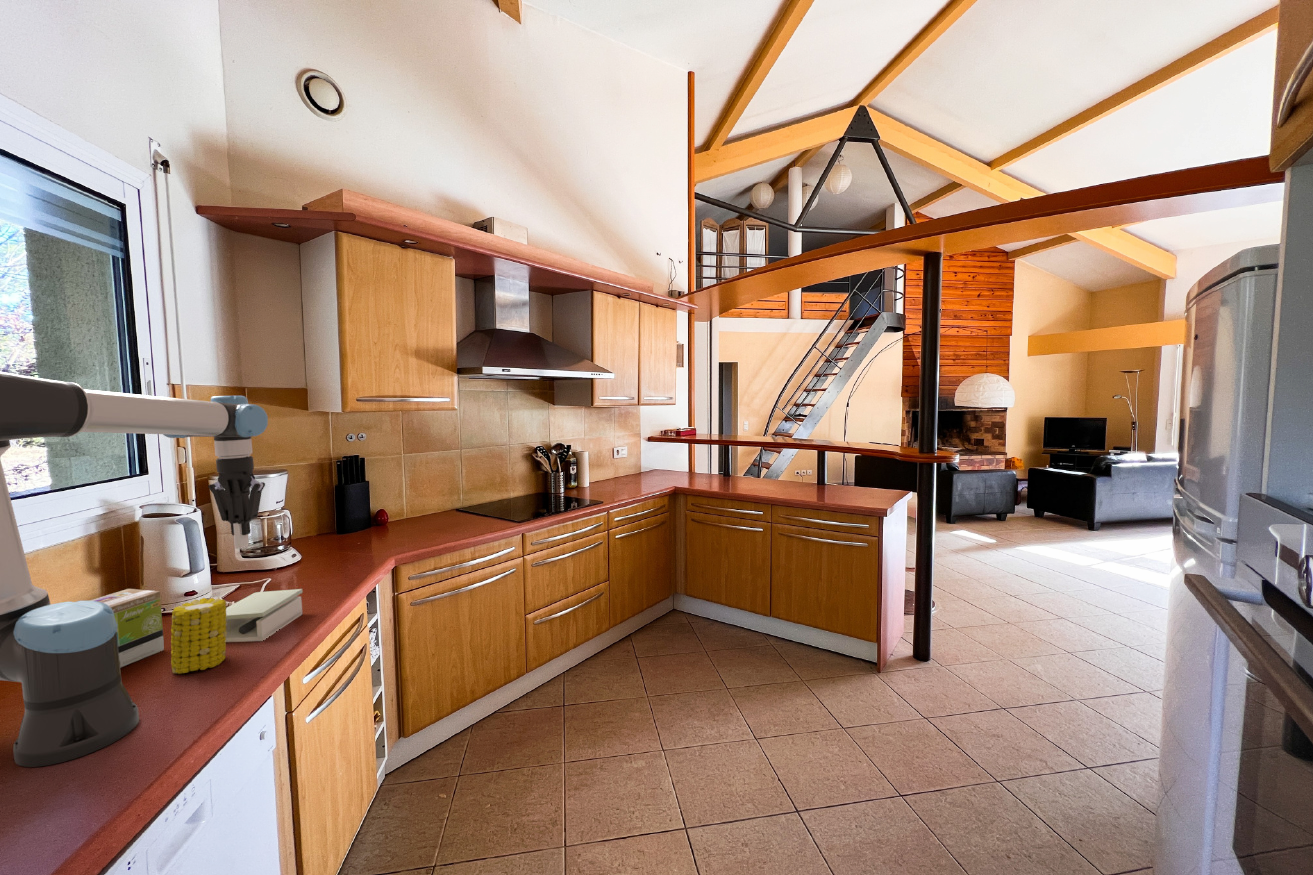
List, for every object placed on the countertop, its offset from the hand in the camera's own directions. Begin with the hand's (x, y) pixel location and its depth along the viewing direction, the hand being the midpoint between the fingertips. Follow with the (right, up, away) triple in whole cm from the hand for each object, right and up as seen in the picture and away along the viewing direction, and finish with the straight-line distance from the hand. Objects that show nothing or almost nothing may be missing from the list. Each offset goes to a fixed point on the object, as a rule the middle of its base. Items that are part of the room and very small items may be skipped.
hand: (242, 547), depth 141 cm
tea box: (-16, -23, -17) cm, 33 cm away
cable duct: (+4, -21, 0) cm, 21 cm away
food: (+5, -23, -19) cm, 30 cm away
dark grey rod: (+4, -20, +1) cm, 20 cm away
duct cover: (+5, -15, 0) cm, 16 cm away
